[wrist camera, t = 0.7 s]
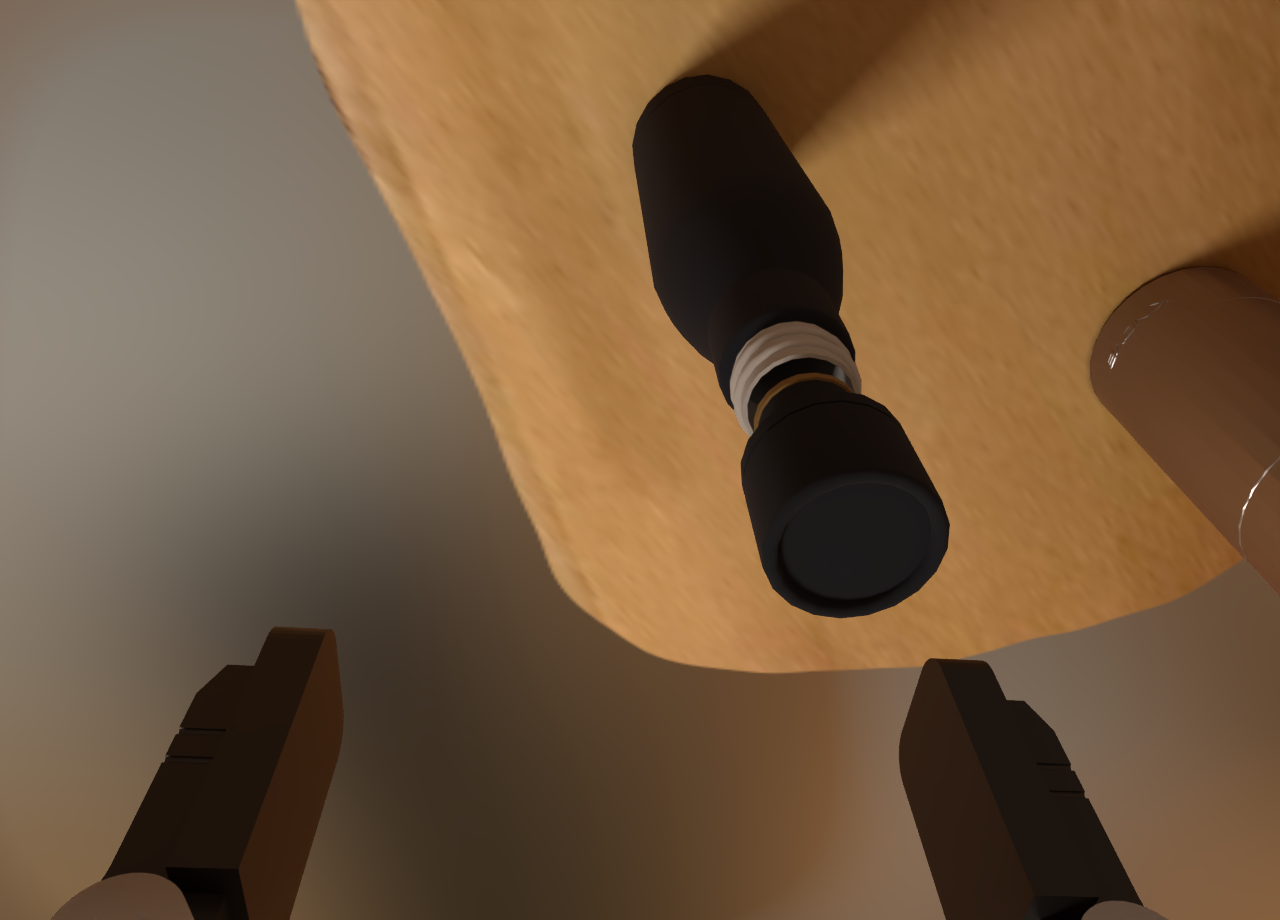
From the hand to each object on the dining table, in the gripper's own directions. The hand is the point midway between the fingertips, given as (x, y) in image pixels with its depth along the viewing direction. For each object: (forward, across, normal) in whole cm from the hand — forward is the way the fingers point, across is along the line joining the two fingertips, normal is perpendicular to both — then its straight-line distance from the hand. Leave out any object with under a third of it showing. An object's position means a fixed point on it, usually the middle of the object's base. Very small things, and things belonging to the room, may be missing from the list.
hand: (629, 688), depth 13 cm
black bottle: (+36, -4, +1) cm, 36 cm away
